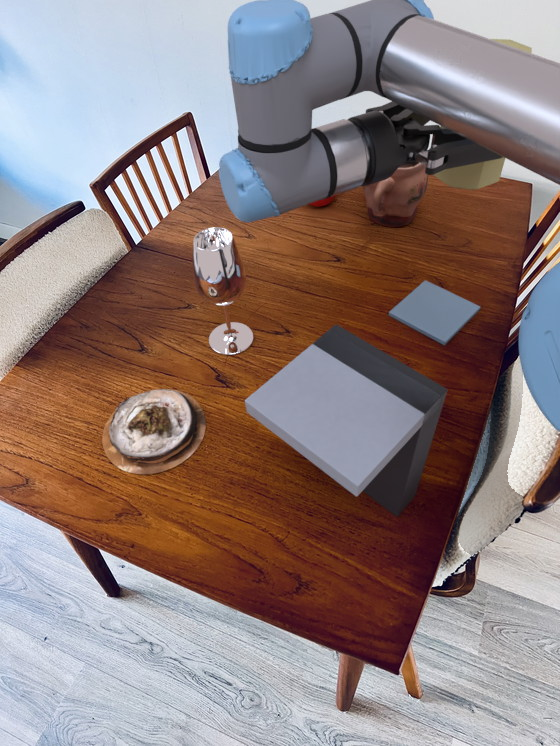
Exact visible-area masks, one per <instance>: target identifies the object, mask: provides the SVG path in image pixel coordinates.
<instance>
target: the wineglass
mask: <svg viewBox="0 0 560 746" xmlns="http://www.w3.org/2000/svg"><path fill="white" fill-rule="evenodd" d="M192 241H193V243H192V276H193V284H194V287H195V290H196V292H197V293H198V295H199V296H200V298H202V300H203V301H205V302H207V303H208V304H210V305H213V306H218V307H222V309H223V314H224V318H225V323H221V324H219V325H217V326H216V327H215V328H213V330H212V331H211V332H210V334H209V336H208V345H209V347H210V348H211V350H212V351H214V352H216V354H220V355H222V356H223V355H224V356H234V355H238V354H241V353H243V352H245V351H246V350H248V349H249V348H250V347H251V346H252V344H253V341H254V332H253V330H252V329H251V328H250V327H249V326H248V325H246V324H245V323H241V322H237V321H232V322H231V318H230V317H231V316H230V313H229V311H230V310H229V305H232V304H234V303H235V302H236V301H238V300H239V299H240V298H241V296H242V295H243V293H245V290H246V287H247V273H246V272H247V271H246V267H245V264H244V260H243V257H242V254H241V252H240V250H239V247H238V245H237V242H236V240H235V238H234V235H233V233H232V232H231V231H230V230H229V229H227V228H225V227H220V226H219V227H217V226H215V227H208V228H205V229H202V230H200V231H198V233H196V235H194V237H193V240H192Z"/></svg>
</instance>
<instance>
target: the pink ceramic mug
mask: <svg viewBox="0 0 560 746" xmlns="http://www.w3.org/2000/svg"><path fill="white" fill-rule="evenodd" d="M425 168H426V166H425V165H423V164H421V163H419V162H417V163H415V164H404V165H401V166H399V168H398V169H397V170H396V171H395V172H394V173H393V175H392V176H391V177H389V178H388V179H386V180H383V181H380V182H377V183H374V184H371V185H368V186H362V189H363V193H364V197H365V200H366V209H367V215H368V218H369V219H370V220H371V222H373V223H376V225H377V224H378V225H380V226H384V227H389V228H399V227H405V226H406V225H408V224H410V223H411V222H412V221H413V220H414V219H415V217H416V215H417V214H418V205H419V203H420V202H421V201H422V199H423V197H424V196H425V194H426V191H427V188H428V182H429V176H430V175H427V174H426V173H425Z"/></svg>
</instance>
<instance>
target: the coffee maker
mask: <svg viewBox="0 0 560 746" xmlns="http://www.w3.org/2000/svg"><path fill="white" fill-rule="evenodd" d="M447 394H448V388H446V387H444V386H442V384H440V383H438V382H436V381H434V380H432V379H431V378H429V377H427V376H426V375H424V374H422V373H420V372H419V371H417V370H415V369H414V368H412V367H410V366H408V365H407V364H405V363H403V362H402V361H400V360H398V359H397V358H395V357H393V356H392V355H390V354H388V353H386V352H385V351H383V350H381V349H380V348H378V347H376V346H375V345H373V344H371V343H369V342H368V341H366V340H364V339H362V338H361V337H359V336H357V335H355V334H354V333H352V332H350V331H349V330H346V329H345V328H343V327H342V326H340V325H338V324H334V325H333V326H332V327H331V328H330V329H327V331H325V332H324V333H323V334H322V335H321V336H320V337H318V339H316V340H315V341H313V342H312V343H311V344H310V345H309V346H308V347H307V348H306V349H304V350H303V351H302V352H300V354H299V355H297V356H296V357H295V358H293V359H292V360H291V361H290V362H289V363H287V364H286V365H285V366H284V367H283V368H282V369H280V370H279V371H278V372H277V373H276V374H274V375H272V377H271V378H270V379H268V380H267V381H266V382H264V383H263V384H262V385H261V386H259V388H258V389H256V390H255V391H254V392H253V393H252V394H250V395H249V396H248V397H247V398H245V400H244V405H245V411H246V413H247V414H248V415H250V416H251V417H252V418H254V419H255V420H256V421H257V422H259V423H260V424H261V425H263V427H265V428H267V430H269V431H271V432H272V434H274V435H276V436H277V437H279V438H280V439H281V440H282V441H283V442H285V444H287V445H288V446H290V447H291V448H292V449H294V450H295V451H296V452H298V453H299V454H300V455H302V456H303V457H304V458H305V459H307V461H309V462H311V463H312V464H313V465H314V466H316V467H317V468H318V469H319V470H321V471H322V472H323V473H325V474H326V475H328V476H329V477H330V478H331V479H333V480H334V481H335V482H336V483H338V484H339V485H340V486H341V487H343V488H344V489H345V490H346V491H348V492H350V493H351V494H352V495H354V496H355V497H358V496H359V495H360V494H361V493H362V492H363V493H365V494H366V495H367V496H368V497H369V498H371V499H372V500H373V501H375V502H376V503H378V505H380V506H382V507H383V508H384V509H386V510H387V511H388V512H390V513H391V514H392V515H393V516H395V517H396V518H398V517H399V516H400V515H401V514H402V513H403V511H404V510H405V509H406V508H407V507H408V505H409V504H410V503H411V502H412V501H413V499H414V498H415V497H416V495H417V491H418V489H419V488H418V487H419V485H420V482H421V478H422V476H423V472H424V469H425V466H426V462H427V459H428V456H429V452H430V449H431V445H432V442H433V439H434V436H435V432H436V429H437V427H438V423H439V420H440V416H441V413H442V409H443V407H444V403H445V399H446V397H447Z"/></svg>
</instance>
